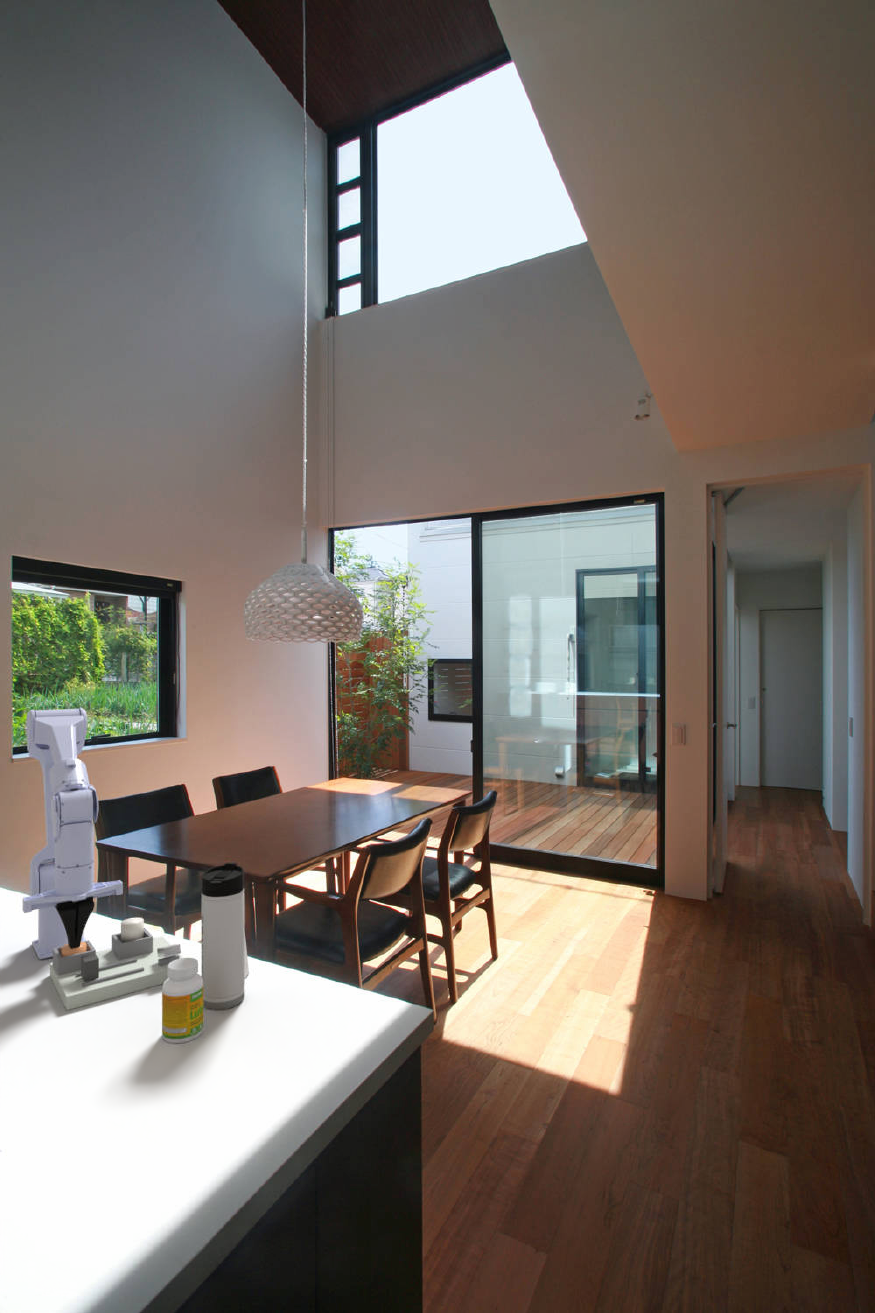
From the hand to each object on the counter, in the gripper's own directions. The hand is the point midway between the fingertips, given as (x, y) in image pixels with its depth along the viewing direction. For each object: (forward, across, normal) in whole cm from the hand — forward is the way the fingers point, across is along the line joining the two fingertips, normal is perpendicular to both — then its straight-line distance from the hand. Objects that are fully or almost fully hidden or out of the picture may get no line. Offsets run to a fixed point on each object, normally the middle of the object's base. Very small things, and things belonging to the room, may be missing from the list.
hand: (74, 946), depth 112 cm
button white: (+1, +9, 0) cm, 9 cm away
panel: (+5, +6, -4) cm, 9 cm away
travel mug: (+5, +16, -23) cm, 29 cm away
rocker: (+1, +12, -9) cm, 15 cm away
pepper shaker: (+5, +20, -16) cm, 27 cm away
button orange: (+3, 0, 0) cm, 3 cm away
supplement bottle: (+5, +8, -29) cm, 31 cm away
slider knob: (+3, +1, -7) cm, 8 cm away
